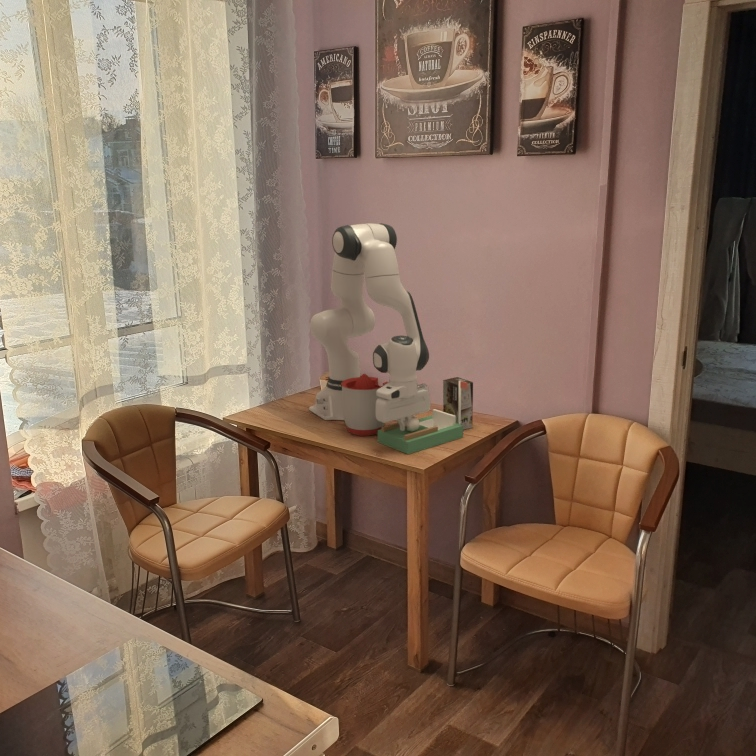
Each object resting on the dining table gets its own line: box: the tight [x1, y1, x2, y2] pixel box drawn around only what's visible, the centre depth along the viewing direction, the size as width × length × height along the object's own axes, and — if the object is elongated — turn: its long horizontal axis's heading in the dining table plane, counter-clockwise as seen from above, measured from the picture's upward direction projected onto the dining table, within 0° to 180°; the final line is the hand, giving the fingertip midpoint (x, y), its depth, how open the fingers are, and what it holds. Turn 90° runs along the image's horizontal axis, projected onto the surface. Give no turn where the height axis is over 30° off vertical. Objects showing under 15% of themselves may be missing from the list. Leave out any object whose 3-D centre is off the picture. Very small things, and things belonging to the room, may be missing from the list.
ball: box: [408, 415, 419, 432], centre depth 249 cm, size 5×5×5 cm
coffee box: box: [442, 377, 474, 431], centre depth 265 cm, size 9×6×16 cm
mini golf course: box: [377, 381, 467, 455], centre depth 251 cm, size 17×24×19 cm
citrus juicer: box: [341, 373, 389, 437], centre depth 261 cm, size 16×17×20 cm
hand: (404, 430), depth 247 cm, fingers closed
